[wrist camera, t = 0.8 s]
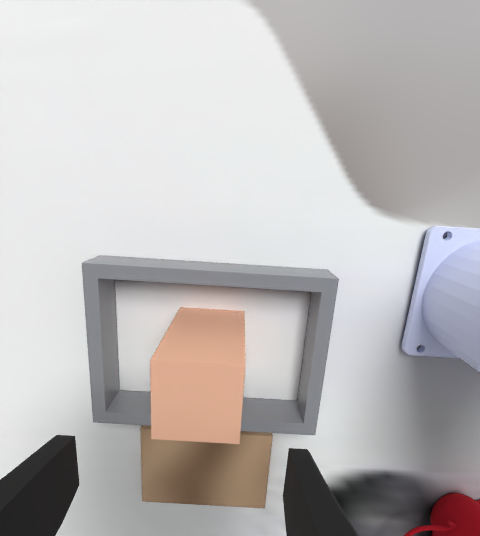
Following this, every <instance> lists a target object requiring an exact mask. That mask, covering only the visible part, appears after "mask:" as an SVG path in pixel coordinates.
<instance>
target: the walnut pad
mask: <svg viewBox="0 0 480 536" xmlns="http://www.w3.org/2000/svg"><path fill="white" fill-rule="evenodd" d="M271 445H272V433H267V432H250V431H240V444H228V443H211V442H193V441H176V440H159V439H151V426H148V425H142V426H141V466H142V501H145V502H163V503H180V504H198V505H215V506H233V507H251V508H265V501H266V492H267V482H268V473H269V464H270V455H271Z"/></svg>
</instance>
